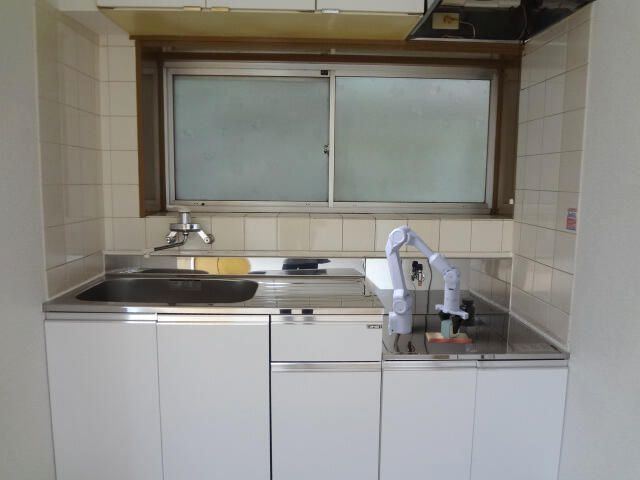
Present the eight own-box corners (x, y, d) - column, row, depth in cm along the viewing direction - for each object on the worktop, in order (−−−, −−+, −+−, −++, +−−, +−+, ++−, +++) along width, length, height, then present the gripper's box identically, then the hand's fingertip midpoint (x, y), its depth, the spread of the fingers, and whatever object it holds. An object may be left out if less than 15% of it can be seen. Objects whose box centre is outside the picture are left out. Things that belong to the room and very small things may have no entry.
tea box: (441, 335, 177) (441, 321, 176) (451, 332, 180) (451, 318, 179) (449, 338, 173) (449, 324, 172) (459, 335, 177) (460, 320, 176)
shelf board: (429, 344, 173) (429, 338, 172) (425, 334, 183) (425, 329, 182) (471, 345, 172) (471, 339, 171) (465, 335, 181) (465, 329, 181)
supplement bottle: (476, 329, 188) (477, 301, 186) (459, 328, 189) (460, 301, 187) (473, 323, 195) (475, 297, 192) (457, 322, 196) (458, 296, 194)
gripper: (430, 295, 178) (429, 328, 180) (460, 304, 166) (458, 339, 168) (442, 292, 182) (441, 324, 184) (472, 301, 170) (470, 335, 172)
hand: (450, 331), depth 176 cm, fingers closed on tea box, 4 cm apart
